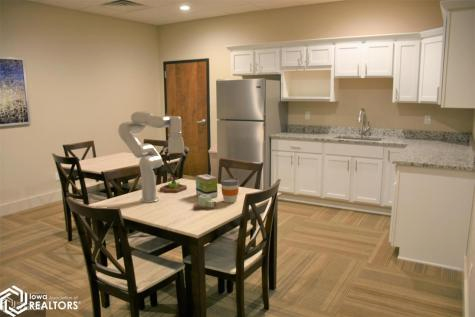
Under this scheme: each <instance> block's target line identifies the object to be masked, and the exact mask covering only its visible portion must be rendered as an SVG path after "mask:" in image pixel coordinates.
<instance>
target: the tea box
mask: <svg viewBox="0 0 475 317" xmlns="http://www.w3.org/2000/svg"><path fill="white" fill-rule="evenodd" d="M195 194H196V196H201V195H209V196H211V199H212V198H213V197H214V198H218V177H216V176H214V175H211V174H208V173H206V174H201V175H200V174H198V175H195Z"/></svg>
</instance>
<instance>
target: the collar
mask: <svg viewBox="0 0 475 317" xmlns="http://www.w3.org/2000/svg"><path fill="white" fill-rule="evenodd" d="M197 196H198V197H197V198H198V201H197V202H198V204H199V205H201V206H204V207H205V206H208V207H214V202H215V201H214V200H212V198H211V196H209V195H201V196H199V195H197Z"/></svg>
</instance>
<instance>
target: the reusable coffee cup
mask: <svg viewBox="0 0 475 317" xmlns="http://www.w3.org/2000/svg"><path fill="white" fill-rule="evenodd" d="M220 185H221V188H220V189H221V195H222V197H223V202H224V203H227V202H230V203H231V202H233V203H236V202H237V200H238V195H239V185H240V181H239V178H233V177H229V178H222V179H221V181H220Z"/></svg>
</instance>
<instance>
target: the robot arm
mask: <svg viewBox="0 0 475 317" xmlns="http://www.w3.org/2000/svg"><path fill="white" fill-rule="evenodd" d="M130 120H131V121H125V122H122V123H120V124H119V126H118V135H119V138H120V139H121V140H122V141H123V143H124V144H126V146H127V147H128V149H129V150H130V151H131V153H132V154H133V156H134V157H135V158H137V159H140V160H139V161H138V166H139V169H140V177H141V178H140V179H141V180H140V181H141V195H142V197H141V198H140V199H139V200H140V202H141V203H145V204H149V203H156V202H158V201H159V197H158V196H157V187H156V186H157V185H156V174H155V172H154V170H153V169H158V168H160V167H162V166H163V158H162V156H161V155H160V153H159V152H158V150H156V148H155V146H153V144H151V143H142V142H140V140H139V139H138V138H137V137H136V136H134V135H133V134H138V133H141V132H142V131H143V130H144V129H145V128H146V127H147V126H148V127H151V128H158V129H163V128H169V133H167V136H168V141H167V144H168V146H166V147H164V148H163V149H162V151H163V153H164V154H165V155H167V161H168V163H169V162H171V154H181V153H182V154H183V155H182V157H183V159H182V160H183V162H185V161H186V159H187V158H186V157H187V154H188V153H189V151H190V148H189V147H188V146H186V145H185V142H184V137H182V136H183V135H182V132H183V131H182V118H181V116H178V115H177V116H175V115H174V116H173V115H160V116H157V115H154V114H153V113H152V112H148V111H146V110H144V111H134V112H133V113H132V114H131V115H130ZM185 149H186V151H185Z"/></svg>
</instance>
